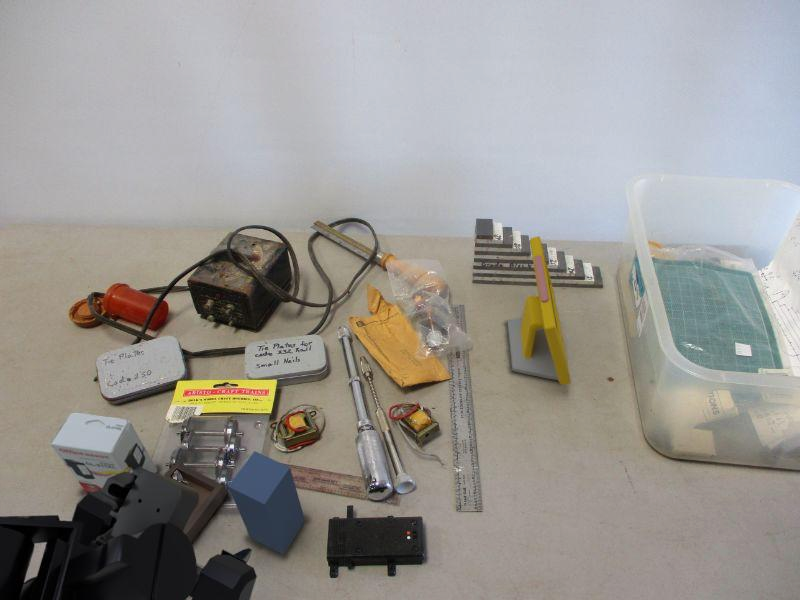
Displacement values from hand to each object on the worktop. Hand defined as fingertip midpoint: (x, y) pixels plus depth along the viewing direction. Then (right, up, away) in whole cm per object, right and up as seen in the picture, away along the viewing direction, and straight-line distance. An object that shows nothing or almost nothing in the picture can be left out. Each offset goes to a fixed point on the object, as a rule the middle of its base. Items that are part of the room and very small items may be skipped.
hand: (212, 534), depth 61 cm
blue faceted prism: (+4, -5, +14) cm, 16 cm away
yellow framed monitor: (+41, +16, +36) cm, 57 cm away
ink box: (-19, -1, +20) cm, 27 cm away
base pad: (-9, -3, +17) cm, 19 cm away
